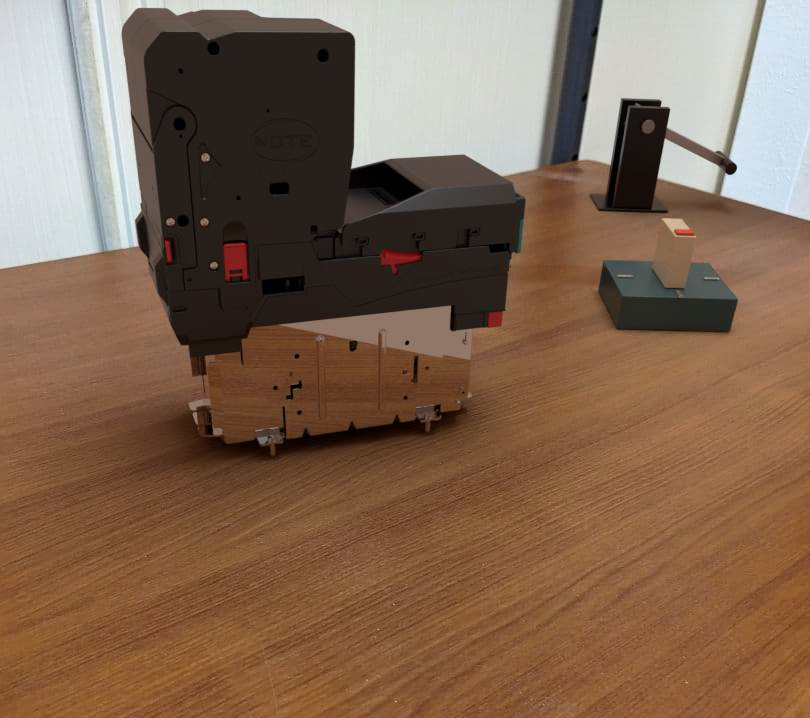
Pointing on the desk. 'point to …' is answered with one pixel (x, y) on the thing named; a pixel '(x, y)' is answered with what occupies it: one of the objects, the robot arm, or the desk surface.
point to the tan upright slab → (673, 253)
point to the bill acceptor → (303, 232)
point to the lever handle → (701, 151)
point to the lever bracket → (636, 158)
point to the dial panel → (666, 298)
